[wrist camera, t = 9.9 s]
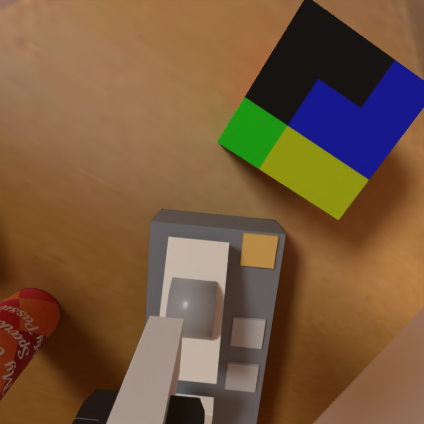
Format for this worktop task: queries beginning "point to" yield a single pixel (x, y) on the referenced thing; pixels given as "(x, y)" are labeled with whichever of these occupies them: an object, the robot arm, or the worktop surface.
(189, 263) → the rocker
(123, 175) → the worktop surface
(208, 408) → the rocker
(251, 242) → the console
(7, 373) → the coffee cup
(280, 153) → the puzzle toy
